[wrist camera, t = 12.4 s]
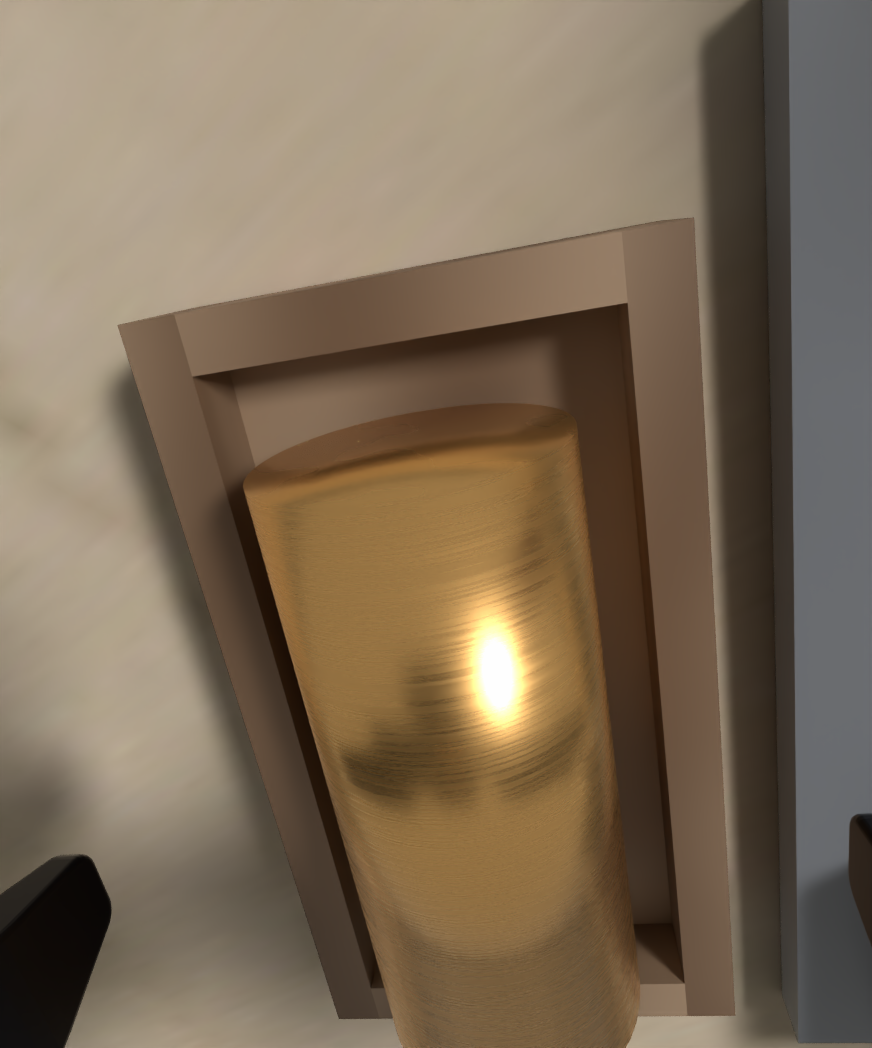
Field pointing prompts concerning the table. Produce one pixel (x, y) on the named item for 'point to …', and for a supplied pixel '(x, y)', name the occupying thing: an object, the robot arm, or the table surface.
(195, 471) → the trough
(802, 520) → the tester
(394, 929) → the cell
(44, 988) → the robot arm
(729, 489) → the table surface
